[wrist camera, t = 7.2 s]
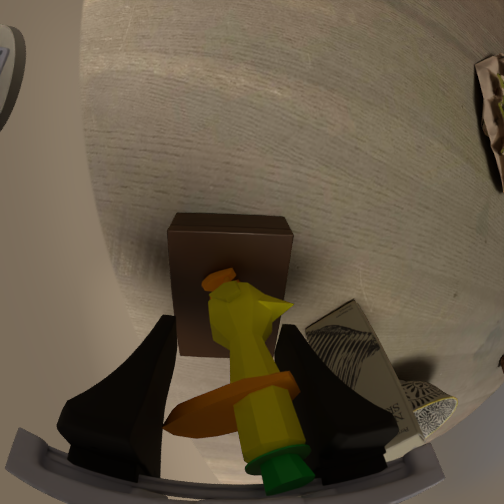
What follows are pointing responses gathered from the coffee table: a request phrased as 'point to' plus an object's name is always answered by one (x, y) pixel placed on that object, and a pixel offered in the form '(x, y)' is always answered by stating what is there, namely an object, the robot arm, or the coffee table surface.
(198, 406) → the toy figure
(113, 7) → the coffee table surface
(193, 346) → the brown square plinth
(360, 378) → the box
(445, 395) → the bowl
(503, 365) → the notched wooden chunk
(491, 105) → the bear figurine
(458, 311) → the coffee table surface
